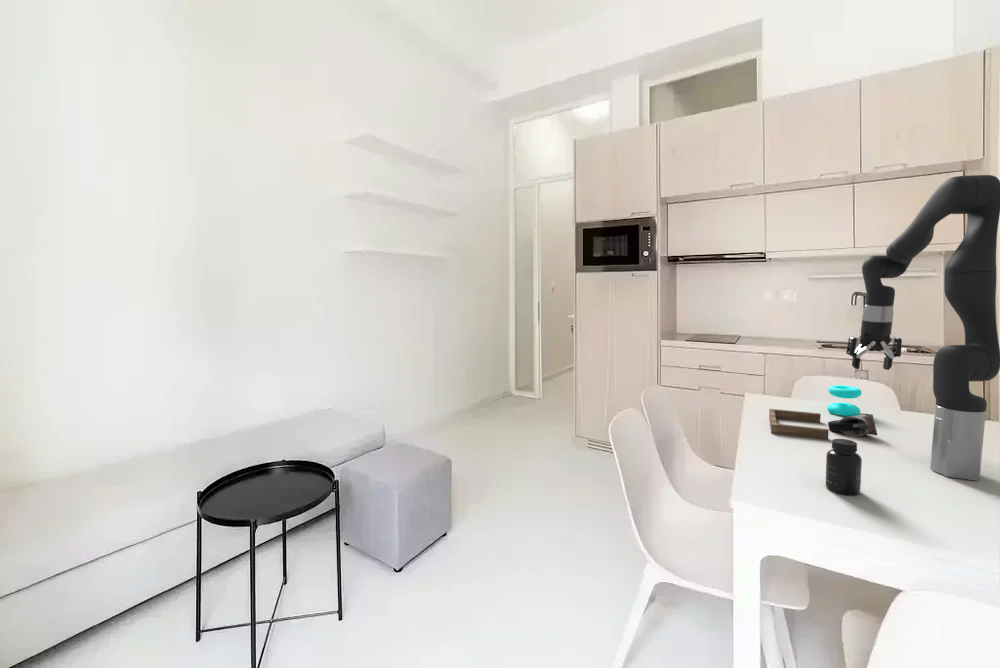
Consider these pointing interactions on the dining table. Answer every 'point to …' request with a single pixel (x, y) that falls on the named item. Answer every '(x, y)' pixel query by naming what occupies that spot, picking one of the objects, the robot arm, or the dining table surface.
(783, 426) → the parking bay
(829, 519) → the dining table surface
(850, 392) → the donuts
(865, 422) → the caster wheel
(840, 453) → the supplement bottle
